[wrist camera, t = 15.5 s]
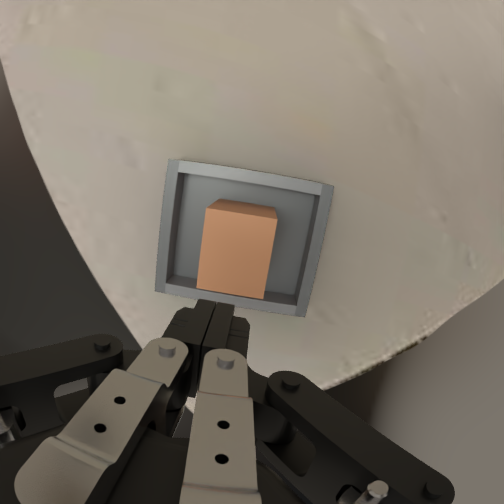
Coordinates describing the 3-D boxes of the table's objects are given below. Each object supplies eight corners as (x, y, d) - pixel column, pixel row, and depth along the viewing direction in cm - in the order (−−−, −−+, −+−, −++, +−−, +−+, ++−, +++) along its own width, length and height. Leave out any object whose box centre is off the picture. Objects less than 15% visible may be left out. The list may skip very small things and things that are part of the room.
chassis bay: (326, 183, 29) (334, 186, 26) (300, 302, 32) (304, 317, 29) (179, 159, 29) (168, 158, 26) (165, 278, 32) (154, 291, 29)
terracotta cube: (274, 207, 29) (277, 219, 22) (263, 269, 30) (262, 299, 24) (219, 198, 29) (206, 207, 22) (210, 261, 30) (196, 288, 24)
